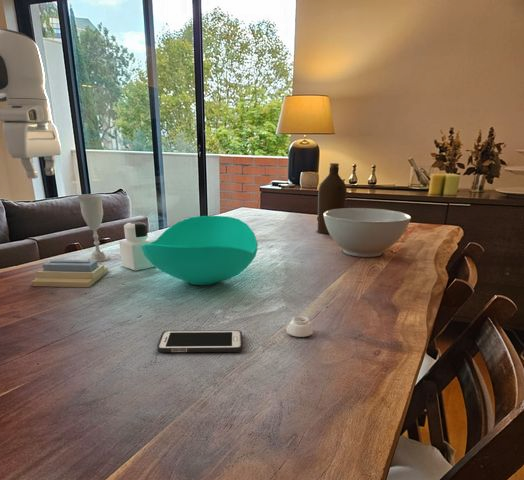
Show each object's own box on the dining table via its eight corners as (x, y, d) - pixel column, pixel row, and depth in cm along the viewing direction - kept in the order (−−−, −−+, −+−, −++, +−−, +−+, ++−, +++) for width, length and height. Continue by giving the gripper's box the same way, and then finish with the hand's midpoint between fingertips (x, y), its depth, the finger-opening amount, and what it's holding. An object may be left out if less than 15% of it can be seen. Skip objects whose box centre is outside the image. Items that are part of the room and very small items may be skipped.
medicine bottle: (143, 261, 134) (139, 219, 129) (157, 266, 129) (153, 223, 124) (121, 266, 129) (116, 222, 124) (134, 271, 125) (130, 226, 120)
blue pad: (44, 276, 115) (42, 263, 114) (53, 270, 120) (51, 258, 118) (91, 277, 115) (90, 264, 114) (98, 271, 120) (97, 259, 118)
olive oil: (348, 231, 180) (354, 163, 169) (334, 235, 172) (339, 164, 162) (324, 228, 186) (329, 162, 175) (310, 232, 178) (314, 163, 168)
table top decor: (171, 260, 136) (168, 214, 131) (263, 263, 134) (264, 217, 128) (122, 304, 100) (115, 244, 95) (247, 310, 98) (247, 248, 93)
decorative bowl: (376, 241, 164) (380, 206, 158) (422, 259, 141) (429, 219, 136) (308, 246, 156) (310, 209, 151) (344, 265, 133) (348, 223, 128)
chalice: (106, 262, 132) (97, 197, 125) (83, 262, 133) (72, 197, 125) (114, 256, 139) (106, 194, 131) (91, 256, 139) (82, 194, 131)
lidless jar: (317, 332, 87) (296, 326, 90) (318, 318, 86) (297, 312, 89) (302, 340, 84) (281, 333, 87) (303, 326, 83) (281, 319, 86)
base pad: (32, 286, 112) (30, 275, 110) (56, 270, 124) (55, 260, 123) (90, 287, 111) (88, 276, 110) (109, 271, 124) (107, 261, 123)
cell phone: (242, 352, 79) (242, 347, 78) (156, 353, 78) (155, 348, 78) (241, 334, 86) (241, 330, 85) (163, 335, 85) (162, 330, 85)
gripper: (37, 115, 116) (47, 173, 122) (-7, 111, 98) (8, 180, 104) (62, 115, 116) (71, 173, 122) (22, 112, 98) (35, 180, 104)
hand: (41, 176), depth 113 cm, fingers open, 8 cm apart
